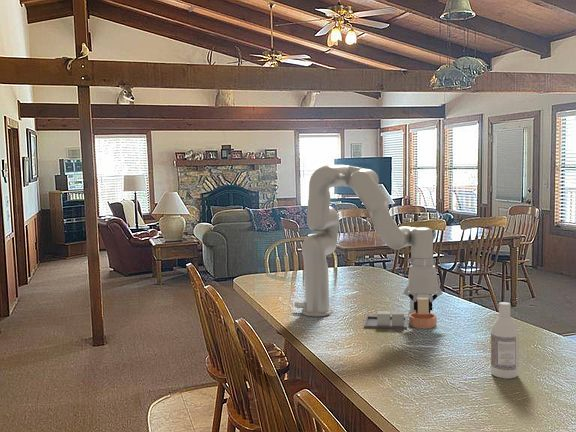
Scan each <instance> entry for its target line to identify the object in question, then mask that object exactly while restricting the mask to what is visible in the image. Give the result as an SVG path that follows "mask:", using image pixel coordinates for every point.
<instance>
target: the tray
mask: <svg viewBox="0 0 576 432" xmlns="http://www.w3.org/2000/svg"><path fill="white" fill-rule="evenodd" d="M363 328H364V329H382V330H383V329H384V330H386V329H387V330H388V329H389V330H390V329H391V330H408V318H407V316H404V326H392V316H390V326H377V315H375V316H374V315H366V317H365V320H364V325H363Z"/></svg>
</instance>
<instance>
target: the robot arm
mask: <svg viewBox="0 0 576 432" xmlns="http://www.w3.org/2000/svg"><path fill="white" fill-rule="evenodd" d="M379 180H380V179H379V176H378V174H377V173H376V171H374V170H373V169H371V168H370V169H369V168H363V167H358V166H354V165H347V164H346V165H345V164H328V165H327V164H326V165H324V166H322V167H319V168H317V169H316V170H315V171H314V172H313V173H312V174H311V176H310V179H309V182H308V183H309V185H308V198H307V199H308V201H307V213H306V225H307V227H308V228H309V229H310V230H311V231H313V232H316V233H314V234H311V235H308V236H307V237H306V238H305V239H303V242H302V244H301V253H302V258H303V267H304V269H303V272H304V296H305V297H304V300H305V301H302V302H299V301H295V302H294V307H295V308H297V309H301V314H302V315H304V316H306V317H307V316H308V317H315V318H316V317H319V318H320V317H326V316H330V315H332V314H333V313H334V309H333V308H332V307H330V287H329V286H330V284H329V281H330V280H329V264H328V260H327V256H329V255H332V254H334V252H335V250H336V249H337V246H338V240H339V239H338V238H339V237H338V236H339V225H340V218H339V213H338V211H337V210H336V209H335V208H334V207H332V206H331V205H330V204H331V203H330V202H331V192H330V188H336V187H337V188H338V187H345V188H351V189H352V191H353V192H354V193H355V195H356V196H357V197H358V199H359V200H360V202H361V203H362V204H363V206H364V207H365V208H366V210H367V211H368V213H369V217H370V220H371V222H372V225H373V227H374V229H375V231H376V232H377V234H378V235H379V237H380V238H381V239H382V241H383V242H384V244H385V245H386V246H387V247H389V248H390V249H392V250H397V251H398V250H400V249H403V248H407V247H411V248H410V249H411V252H410V253H411V257H410V258H407V263H409V264H410V265H409V267H408V268H409V269H408V274H407V275H408V282H407V283H408V284H407V286H405V288H404V290H403V295H405V296H407V297H408V298H409V299H410V298H411V299H412V300H413V302H414V310H416V313H418V301H417V294H429V313H431V312H432V311H433V302H434V301H435V300H436V299H437V298H438V297H440V296H441V295H443V291H442V289H441V288H440V286H439V284H438V275H437V274H438V273H437V268H436V267H437V266H436V265H434V237H433V230H432V228H431V227H413V226H412V227H411V226H405V225H401V226H398V225H397V224H396V222H395V220H394V219H393V218H392V216H391V213H390V211H389V209H390V208H389V207H390V206H389V204H390V203H389V198H388V197H387V196H386V194H385V193H384V191H383V190H382V189H381V187H380V186H379V183H380V181H379ZM412 294H414V295H412Z"/></svg>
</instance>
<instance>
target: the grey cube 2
mask: <svg viewBox="0 0 576 432" xmlns="http://www.w3.org/2000/svg"><path fill="white" fill-rule="evenodd" d="M391 317H392V326H404V317H405V311H391Z"/></svg>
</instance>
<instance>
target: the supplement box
mask: <svg viewBox="0 0 576 432" xmlns="http://www.w3.org/2000/svg"><path fill="white" fill-rule="evenodd" d="M412 295H414V294H412ZM417 298H428V300H429V294H417ZM409 312H410V313H409V314H411V313H415V312H416V310H414V302H413V300H412V299H411V298H409Z"/></svg>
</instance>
